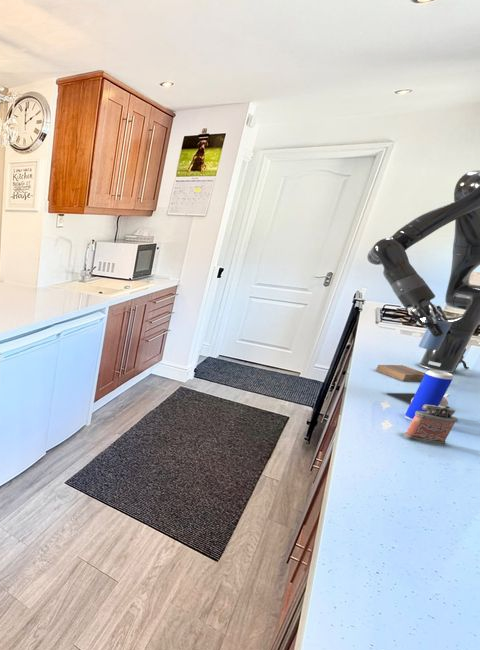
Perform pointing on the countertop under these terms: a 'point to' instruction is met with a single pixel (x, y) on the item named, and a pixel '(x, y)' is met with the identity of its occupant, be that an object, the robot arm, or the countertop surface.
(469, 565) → the countertop surface
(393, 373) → the platform
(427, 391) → the beverage can
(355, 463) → the countertop surface
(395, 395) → the mat
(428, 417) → the lighter
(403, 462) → the countertop surface
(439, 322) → the post
